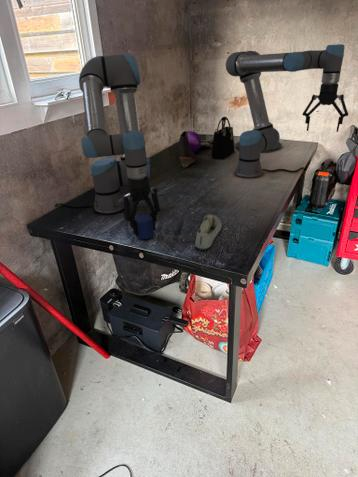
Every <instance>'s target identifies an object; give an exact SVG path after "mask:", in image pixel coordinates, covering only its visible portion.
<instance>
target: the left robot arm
mask: <svg viewBox="0 0 358 477" xmlns="http://www.w3.org/2000/svg"><path fill="white" fill-rule="evenodd" d="M78 85H79V89H80V91H81V92H82V99H83V100H82V101H83V108H84V118H85V128H86V136H83V137H82V138H81V140H80V141H81V149H82V153H83V156H84V157H85V158H86V159H94V158H95V159H98V158H100V159H98V160H95V161H94V162H92V163H91V165H90V172H91V177H92V182H93V188H94V193H95V195H94V196H95V197H94V202H93V203H92V204H91V203H90V204H84V205H83V204H82V205H72V204H69V203H68V204H67V203H61V202H59V203H60V204H57V203H55V204H56V205H55V204H54V207H57V206H59V205H61V206H64V207H65V206H67V207H71V208H84V207H85V208H87V207H93V209H94V212H96V213H97V214H100V215H113V214H117V213H120V212H122V211H123V219H124V220H125V221H126V222H129V226H130V228H131V229H132V233H133V235H134V236H135V237H137V236H138V230H137V222H136V220H135V217H136V216H137V215H136V214H137V209H138V205H139V204H140V202H142V201H144V202H145V204H146V206H147V208H148V209H149V211H150V213H149V214H148V215H151V216H152V219H153V229H154V231H156V230H157V229H156V222H157V215H158V213H159V212H161V207H160V202H159V197H158V188H157V187H155V186H152V187H150V176H151V164H150V163H151V162H150V157H148V156H147V151H146V150H147V149H146V140H145V134H144V133H143V132H142V131H140V124H139V117H138V109H137V101H136V93H137V91H138V89H139V88H138V87H139V85H141V76H140V70H139V67H138V63H137V60H136V58H135V56H134V55H133V54H124V53H122V54H111V55H97V56H94V57H92V58H90V59H89V60H88V61H86V62H85V64H84V65H83V66H82V68H81V71H80V74H79V76H78ZM104 88H109V89H110V92H111V93H112V94H113V95H114V97H115V99H114V100H115V106H116V113H117V120H118V128H119V133H115V134H108V130H107V128H108V127H107V121H106V114H105V106H104V98H103V91H104ZM112 156H113V157H112ZM114 156H119V158H120V159H119V160H117V159H116V158H115V157H114ZM126 186H127V187H128V189H129V191H128V193H127V194H123V193H122V191H121V187H126ZM149 194H151V195H150V196H151V199H152V201H151V199H150V197H149ZM130 201H131V203H130ZM130 204H131V205H130Z"/></svg>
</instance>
